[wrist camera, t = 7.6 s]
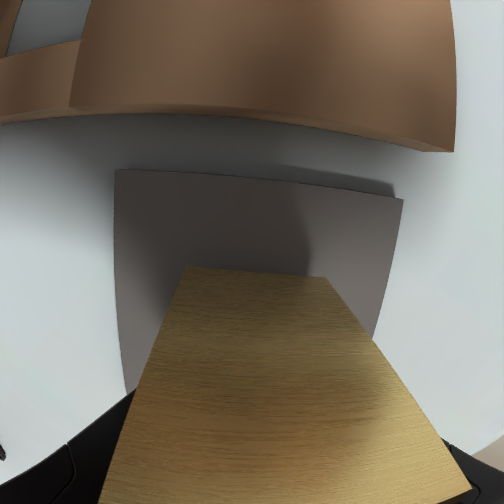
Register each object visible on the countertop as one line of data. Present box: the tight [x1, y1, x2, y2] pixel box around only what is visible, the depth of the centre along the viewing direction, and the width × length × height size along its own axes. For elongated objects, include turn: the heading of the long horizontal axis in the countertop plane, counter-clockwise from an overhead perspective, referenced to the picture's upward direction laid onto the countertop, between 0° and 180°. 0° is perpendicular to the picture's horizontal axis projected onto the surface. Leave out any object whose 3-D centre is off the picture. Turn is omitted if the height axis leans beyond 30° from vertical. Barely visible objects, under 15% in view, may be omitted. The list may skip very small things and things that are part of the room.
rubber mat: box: [114, 169, 403, 395], centre depth 12 cm, size 10×10×1 cm
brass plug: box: [98, 266, 472, 504], centre depth 7 cm, size 4×4×8 cm
